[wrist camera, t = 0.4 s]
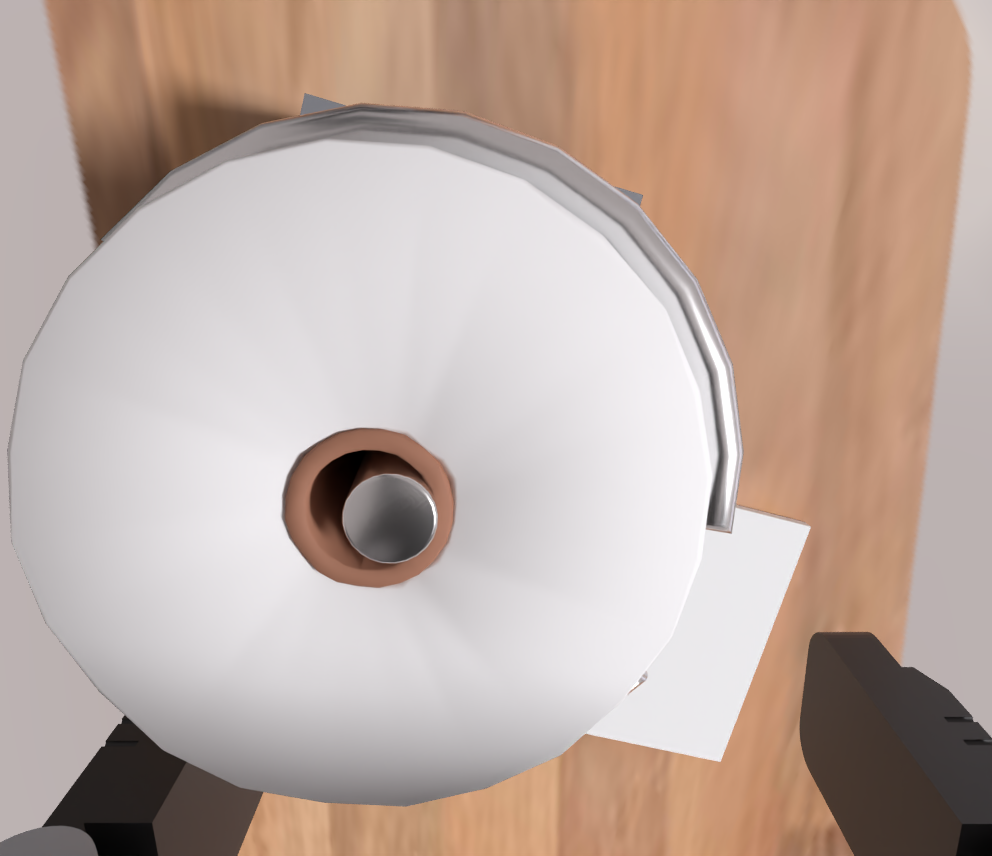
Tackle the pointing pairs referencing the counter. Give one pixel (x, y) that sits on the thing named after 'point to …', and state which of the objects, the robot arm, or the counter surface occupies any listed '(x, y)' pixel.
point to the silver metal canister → (373, 455)
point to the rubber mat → (713, 640)
